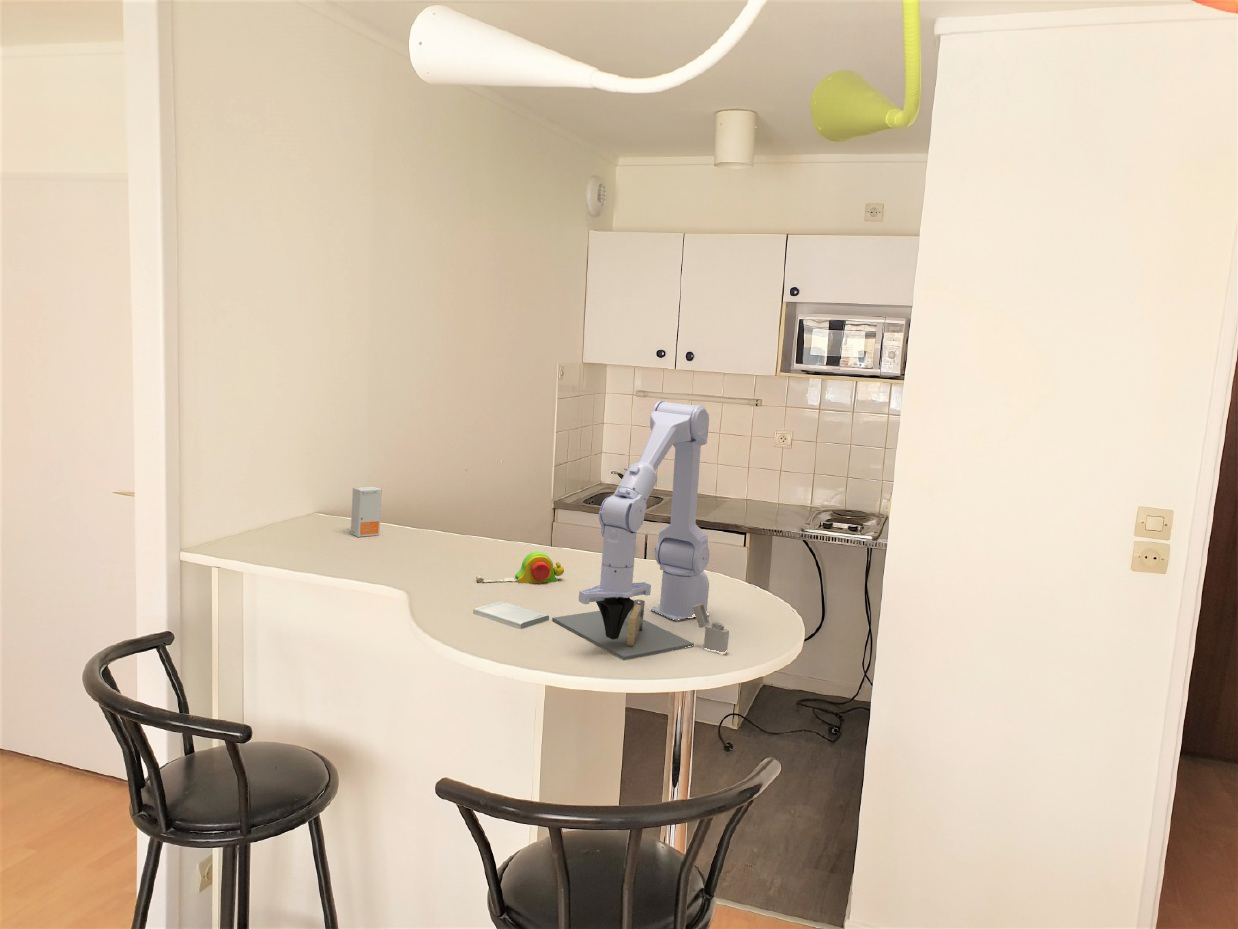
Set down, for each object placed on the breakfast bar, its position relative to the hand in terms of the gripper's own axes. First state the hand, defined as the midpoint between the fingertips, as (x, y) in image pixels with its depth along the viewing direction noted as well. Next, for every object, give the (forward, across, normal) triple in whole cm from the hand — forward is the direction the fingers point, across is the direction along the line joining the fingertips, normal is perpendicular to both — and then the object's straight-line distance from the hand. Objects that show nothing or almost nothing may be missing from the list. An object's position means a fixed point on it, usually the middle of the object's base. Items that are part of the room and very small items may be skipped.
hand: (612, 637), depth 167 cm
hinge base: (+2, +6, +6) cm, 9 cm away
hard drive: (+3, -8, +22) cm, 24 cm away
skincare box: (+2, -9, +94) cm, 94 cm away
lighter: (+2, +16, -8) cm, 18 cm away
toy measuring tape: (+2, +7, +43) cm, 44 cm away
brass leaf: (+1, +6, +1) cm, 6 cm away
